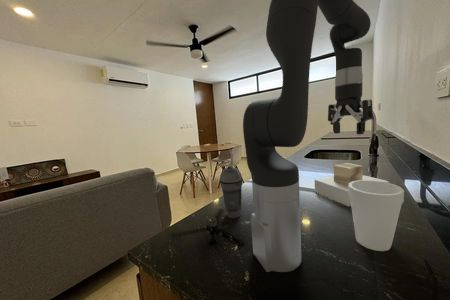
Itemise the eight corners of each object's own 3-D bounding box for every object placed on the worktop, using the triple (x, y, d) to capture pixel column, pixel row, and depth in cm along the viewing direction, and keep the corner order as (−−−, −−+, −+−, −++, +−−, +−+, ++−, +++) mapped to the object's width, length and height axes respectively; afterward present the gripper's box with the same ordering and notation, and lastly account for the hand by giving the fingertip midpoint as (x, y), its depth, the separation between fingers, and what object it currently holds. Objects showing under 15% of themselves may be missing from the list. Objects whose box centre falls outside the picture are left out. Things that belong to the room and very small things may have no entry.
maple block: (349, 186, 63) (349, 168, 63) (333, 181, 69) (333, 165, 68) (362, 182, 65) (362, 165, 64) (346, 178, 71) (346, 162, 70)
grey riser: (348, 206, 60) (348, 191, 59) (314, 192, 73) (314, 179, 73) (388, 195, 65) (388, 181, 65) (350, 183, 79) (350, 172, 78)
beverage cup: (233, 207, 67) (228, 150, 64) (250, 213, 61) (245, 151, 58) (218, 215, 62) (212, 154, 59) (234, 222, 56) (229, 156, 53)
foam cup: (347, 226, 50) (347, 178, 48) (394, 234, 45) (396, 181, 43) (349, 249, 42) (349, 192, 40) (406, 261, 37) (410, 198, 35)
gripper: (321, 88, 68) (322, 134, 70) (361, 79, 54) (360, 135, 57) (338, 88, 70) (338, 132, 72) (379, 78, 57) (378, 133, 59)
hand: (347, 133), depth 65 cm, fingers open, 8 cm apart
